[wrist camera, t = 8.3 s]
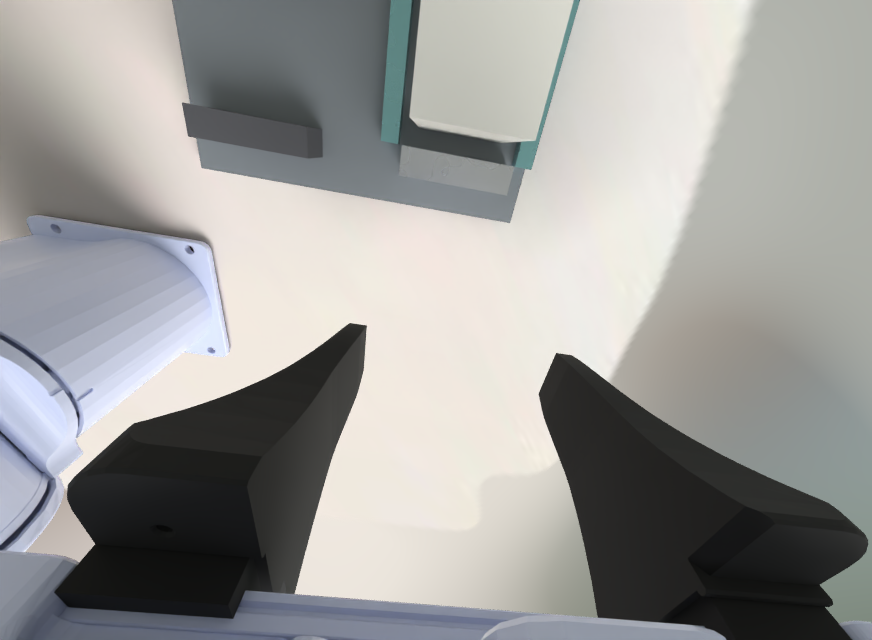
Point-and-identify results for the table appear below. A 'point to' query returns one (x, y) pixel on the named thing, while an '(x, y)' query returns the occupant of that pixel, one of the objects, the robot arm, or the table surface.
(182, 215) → the table surface
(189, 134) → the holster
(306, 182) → the panel
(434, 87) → the plug
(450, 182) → the port
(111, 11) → the table surface
